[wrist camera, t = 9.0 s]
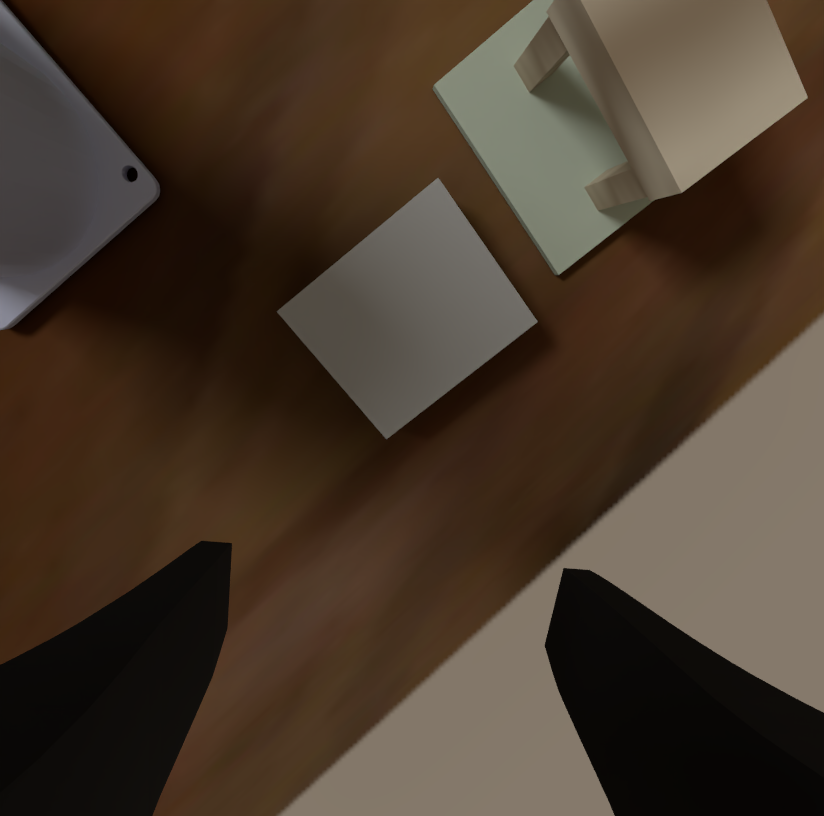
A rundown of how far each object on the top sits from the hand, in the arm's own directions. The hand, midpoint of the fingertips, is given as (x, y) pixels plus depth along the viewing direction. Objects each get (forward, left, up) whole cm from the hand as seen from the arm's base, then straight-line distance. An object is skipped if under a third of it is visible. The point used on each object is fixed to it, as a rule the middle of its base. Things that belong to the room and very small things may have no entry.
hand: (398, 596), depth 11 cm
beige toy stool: (-5, +14, -10) cm, 18 cm away
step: (-4, +4, -10) cm, 12 cm away
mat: (-5, +14, -10) cm, 18 cm away
